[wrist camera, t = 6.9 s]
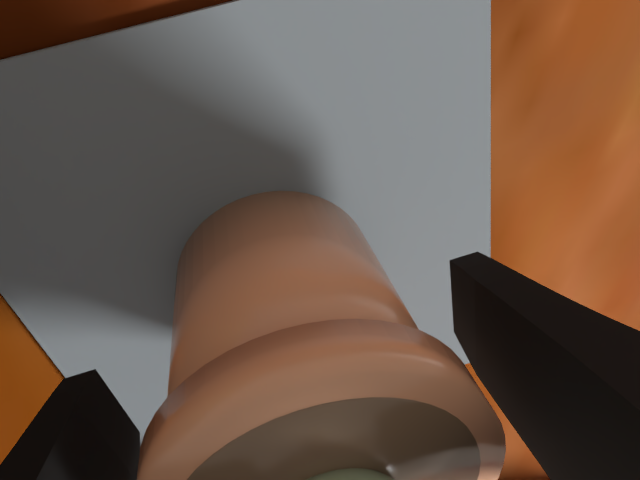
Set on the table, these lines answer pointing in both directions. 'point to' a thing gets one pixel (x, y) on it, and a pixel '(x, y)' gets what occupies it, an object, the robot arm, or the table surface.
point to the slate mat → (236, 161)
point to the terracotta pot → (307, 361)
